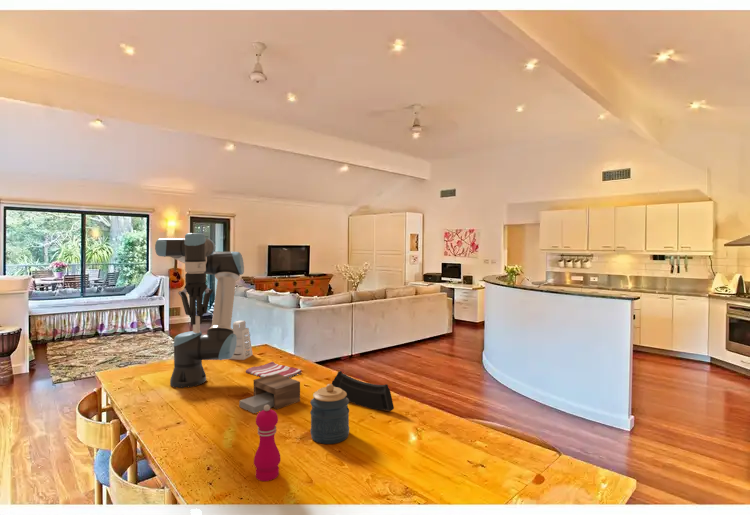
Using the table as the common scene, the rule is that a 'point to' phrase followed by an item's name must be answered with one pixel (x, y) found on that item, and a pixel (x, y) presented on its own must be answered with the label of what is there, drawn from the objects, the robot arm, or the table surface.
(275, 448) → the pepper mill
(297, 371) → the dish towel
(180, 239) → the robot arm
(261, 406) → the tile
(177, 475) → the table surface
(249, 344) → the grater
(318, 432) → the canister
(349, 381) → the magazine
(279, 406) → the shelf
